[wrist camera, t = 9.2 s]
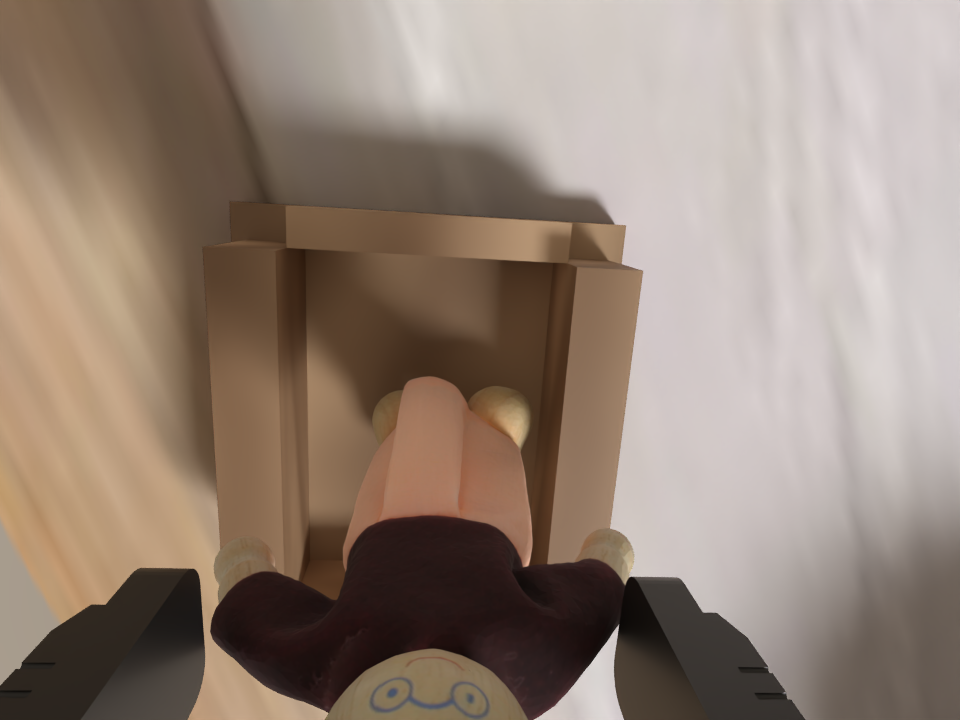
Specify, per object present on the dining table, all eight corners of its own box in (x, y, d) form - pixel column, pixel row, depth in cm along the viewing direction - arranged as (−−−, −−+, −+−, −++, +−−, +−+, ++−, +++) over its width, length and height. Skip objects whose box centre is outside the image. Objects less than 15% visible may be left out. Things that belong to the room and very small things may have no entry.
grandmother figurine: (558, 342, 16) (938, 791, 4) (576, 468, 17) (923, 1157, 5) (281, 393, 16) (-286, 1033, 4) (315, 517, 17) (-32, 1350, 5)
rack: (616, 224, 17) (665, 229, 14) (575, 572, 20) (606, 656, 17) (241, 201, 17) (181, 199, 13) (256, 567, 20) (211, 655, 16)
